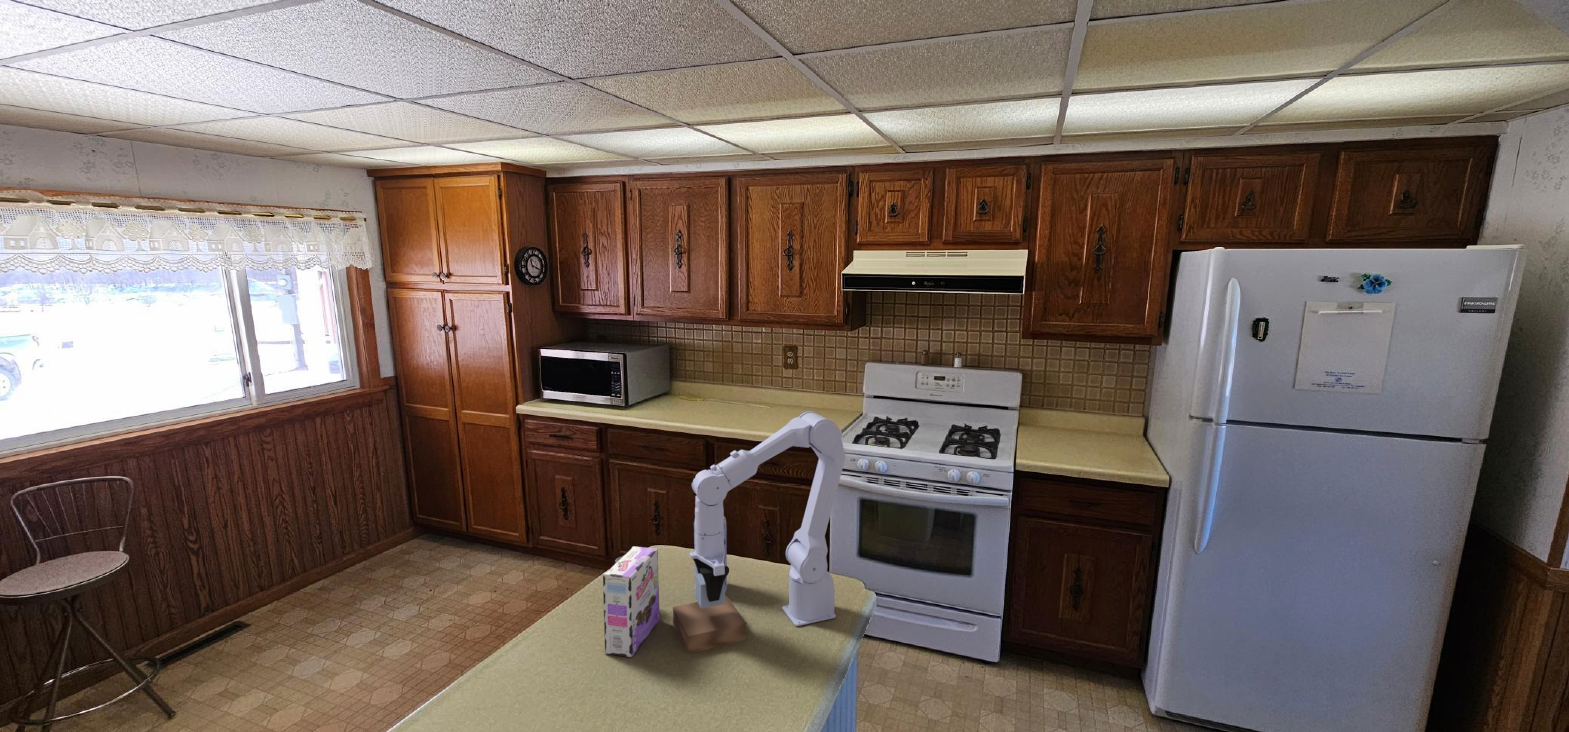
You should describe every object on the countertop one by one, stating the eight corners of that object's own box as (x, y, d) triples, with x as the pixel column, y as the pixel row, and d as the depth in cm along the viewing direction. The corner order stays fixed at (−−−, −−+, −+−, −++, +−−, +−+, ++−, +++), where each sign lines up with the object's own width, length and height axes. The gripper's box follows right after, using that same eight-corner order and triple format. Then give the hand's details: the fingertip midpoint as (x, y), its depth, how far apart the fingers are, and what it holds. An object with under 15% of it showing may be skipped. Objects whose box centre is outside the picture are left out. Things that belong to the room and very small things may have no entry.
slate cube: (718, 592, 129) (718, 570, 129) (725, 603, 125) (725, 580, 124) (695, 596, 127) (694, 574, 127) (701, 608, 123) (700, 584, 122)
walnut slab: (727, 612, 135) (726, 595, 135) (746, 641, 124) (746, 622, 124) (673, 624, 130) (672, 606, 130) (688, 655, 119) (688, 636, 119)
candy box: (632, 658, 118) (629, 576, 116) (603, 654, 119) (601, 573, 117) (660, 620, 131) (659, 546, 129) (635, 617, 132) (633, 544, 130)
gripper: (681, 520, 129) (682, 581, 131) (699, 547, 116) (699, 614, 118) (714, 515, 132) (715, 575, 134) (734, 541, 119) (735, 607, 120)
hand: (710, 593), depth 126 cm, fingers closed on slate cube, 5 cm apart
